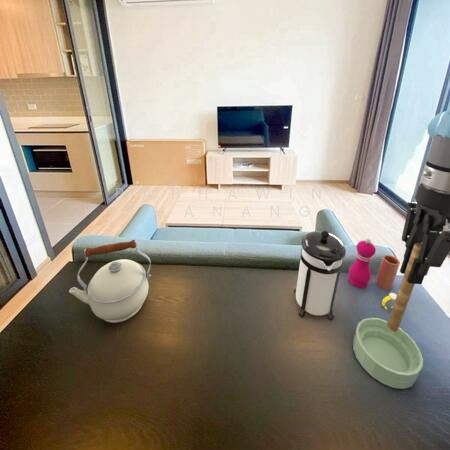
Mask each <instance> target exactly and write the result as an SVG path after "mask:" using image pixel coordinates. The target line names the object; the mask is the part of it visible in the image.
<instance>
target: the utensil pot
mask: <svg viewBox="0 0 450 450" xmlns="http://www.w3.org/2000/svg"><path fill="white" fill-rule="evenodd" d="M400 265H401V261H400V259H398V258H397V257H395V256H393V255H389V254H384V255H383V256H382V258H381V262H380V265H379V269H378V272H377V275H376V280H375V283H376V285H377V286H378V287H379V288H381V289H383V290H385V291H391V290H393V287H394V283H395V280H396V277H397V274H398V271H399V269H400Z"/></svg>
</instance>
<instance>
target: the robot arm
mask: <svg viewBox="0 0 450 450" xmlns="http://www.w3.org/2000/svg"><path fill="white" fill-rule="evenodd" d="M427 134H428V136H429V137H430V138H431V139H432V141H431V144H430V148H429V151H428V154H427V158H426V161H425V166H424V168H423V171H422V174H421V178H420V183H419V184H418V185H417V188H416V192H415V195H414V201H416V202H413V201H412V202H410V201H409V202H407V204H406V208H407V209H406V210H407V211H406V215H405V222H404V225H403V229H402V230H403V231H402V235H401V241H402V242H405V244H404V246H405V250H404V253H403V260H402V263H401V266H400V268H399V273H400V274H402V275H404V273H405V270H406V267H407V264H408V262H409V259H410V256H411V253H412V250H413V247H414V244H415V243H421V244H422V245H421V249H420V254H419V258H415V259H414V262H413V265H412V268H411V271H410V274H409V277H408V279H407V282H408V283H411V284H415V285H422V284H423V281H424V279H425V277H426V276H427V275H428V273H429V270H430V268H441V267H442V265H443V264H444V262H445V260H446V259H447V257H448V255H449V253H450V109H447V110H445V111H442V112H439V113H437V114H436V115H434V116H433V117H432V118H431V119H430V121H429V123H428V125H427Z"/></svg>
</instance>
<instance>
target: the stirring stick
mask: <svg viewBox="0 0 450 450" xmlns="http://www.w3.org/2000/svg"><path fill="white" fill-rule="evenodd" d="M421 245H422V244H421V243H415V244H414V247H413V250H412V253H411V256H410V259H409V262H408V264H407V267H406V270H405V273H404V274H403V277H402V279H401V282H400V285H399V287H398V291H397V293H396V294H397V297H396V300H395V301H394V302H393V306H392V307H393V308H391V311H390V314H389V317H388V320H387V321H388V323H387V327H388V329H389V330H391V331H393V332H397V331H398V328H400V325H401V323H402V319H403V317H404V314H405V311H406V308H407V306H408V304H409V300H410V298H411V295H412V292H413V290H414V287H415V285H416V284H411V283H408V282H407V279H408V277H409V274H410V271H411V268H412V265H413V262H414V259H415V258H419V254H420V249H421Z"/></svg>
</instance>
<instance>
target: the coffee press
mask: <svg viewBox="0 0 450 450" xmlns="http://www.w3.org/2000/svg"><path fill="white" fill-rule="evenodd" d="M300 243H301V249H300V255H299V257H300V260H299V267H298V272H297V273H298V274H297V280H296V281H297V282H296V287H295V289H294V290H293V292H294V294H295V299H296V302H297V304H298V306H299V307H300V309H299V311H298V316H300V317H301V318H304V316H305V314H306V313H308V314H309V315H313V316H324V315H325V316H326V317H327V318H328V320H329V321H333V320H334V319H335V315H334V312H333V307H334V302H335V298H336V294H337V289H338V284H339V280H340V275H341V270H342V268H343V264H344V258H345V257H346V252H347V249H346V247H345V245H344V243H343V241H342V240H341V239H340V238H339V237H337V236H336V235H335V234H332V233H330V232H328V231H327V230H314V231H310V232H308V233H307V234H306V235H305V236H303V237H302V238H301V242H300Z"/></svg>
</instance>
